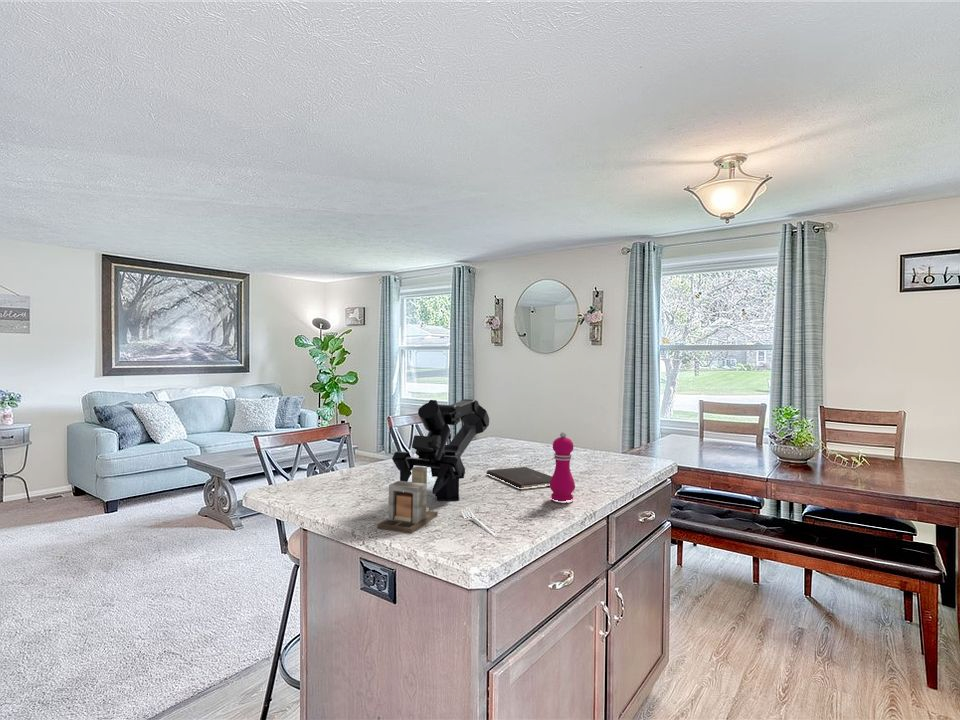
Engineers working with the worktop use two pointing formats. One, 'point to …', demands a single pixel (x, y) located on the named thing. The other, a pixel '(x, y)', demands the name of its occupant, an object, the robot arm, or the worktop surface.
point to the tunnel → (418, 507)
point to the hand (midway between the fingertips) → (416, 491)
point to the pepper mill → (562, 469)
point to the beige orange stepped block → (409, 496)
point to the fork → (475, 520)
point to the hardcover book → (521, 476)
